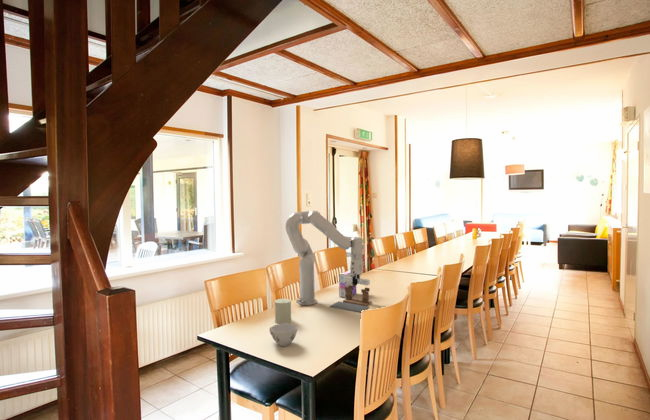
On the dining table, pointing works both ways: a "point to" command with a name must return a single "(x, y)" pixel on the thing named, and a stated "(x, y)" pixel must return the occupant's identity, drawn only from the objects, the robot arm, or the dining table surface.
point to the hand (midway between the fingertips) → (356, 284)
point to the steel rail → (359, 280)
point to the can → (282, 311)
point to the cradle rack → (362, 302)
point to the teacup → (283, 333)
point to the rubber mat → (349, 306)
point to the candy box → (345, 284)
